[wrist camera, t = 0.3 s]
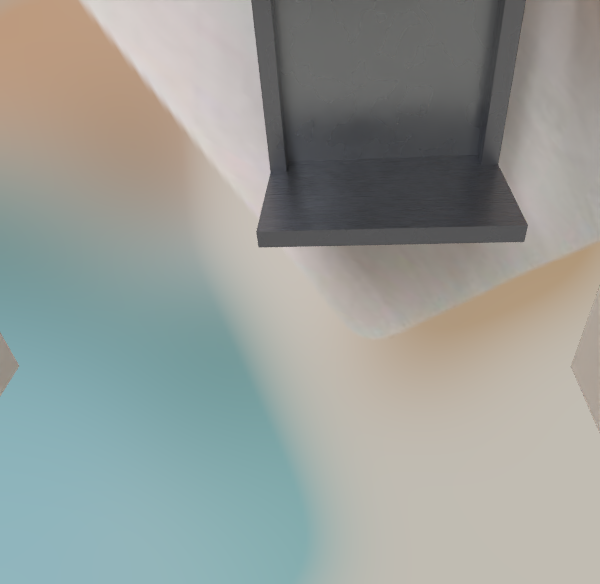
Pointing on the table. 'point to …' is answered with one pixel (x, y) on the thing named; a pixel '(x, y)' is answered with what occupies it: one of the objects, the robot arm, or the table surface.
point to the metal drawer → (386, 121)
